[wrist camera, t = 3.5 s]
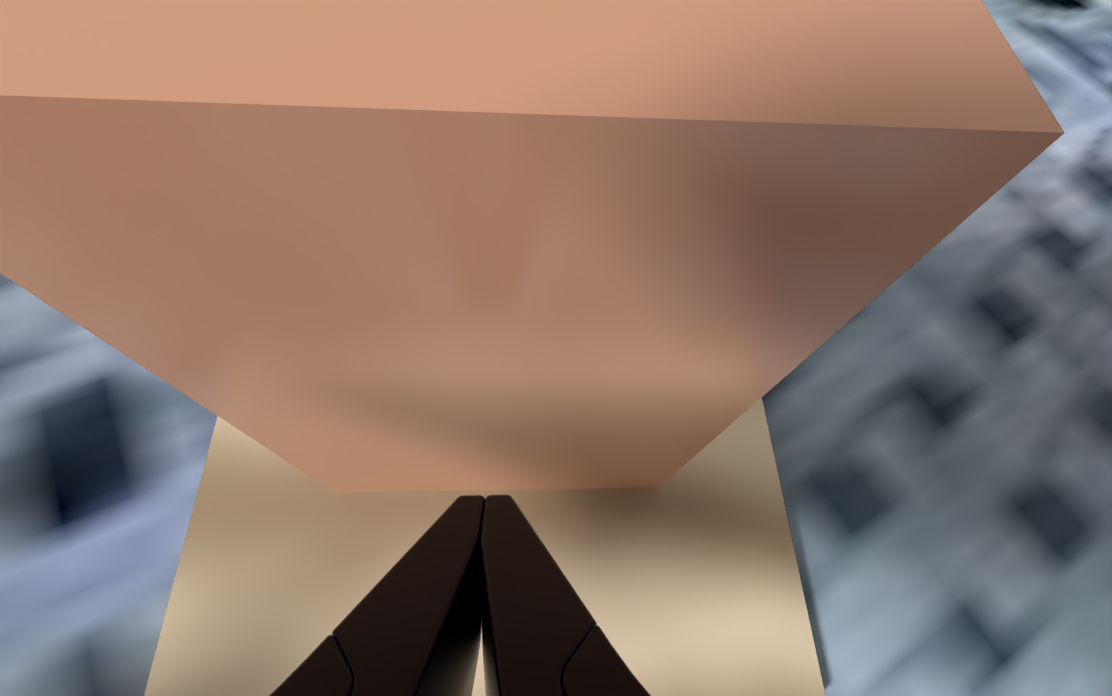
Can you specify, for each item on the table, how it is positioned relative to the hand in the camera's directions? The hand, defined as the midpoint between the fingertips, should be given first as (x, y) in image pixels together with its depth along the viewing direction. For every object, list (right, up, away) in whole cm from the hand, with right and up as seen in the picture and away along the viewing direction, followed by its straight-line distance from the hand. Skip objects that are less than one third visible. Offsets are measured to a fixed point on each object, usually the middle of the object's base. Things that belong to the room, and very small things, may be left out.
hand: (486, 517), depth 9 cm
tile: (-1, -1, +8) cm, 8 cm away
